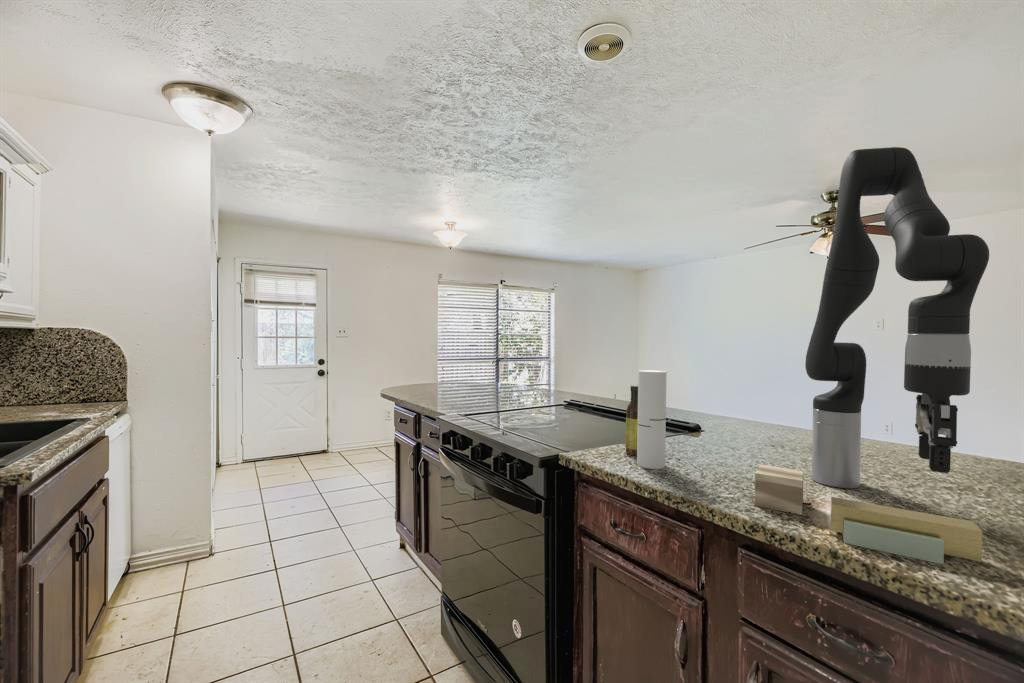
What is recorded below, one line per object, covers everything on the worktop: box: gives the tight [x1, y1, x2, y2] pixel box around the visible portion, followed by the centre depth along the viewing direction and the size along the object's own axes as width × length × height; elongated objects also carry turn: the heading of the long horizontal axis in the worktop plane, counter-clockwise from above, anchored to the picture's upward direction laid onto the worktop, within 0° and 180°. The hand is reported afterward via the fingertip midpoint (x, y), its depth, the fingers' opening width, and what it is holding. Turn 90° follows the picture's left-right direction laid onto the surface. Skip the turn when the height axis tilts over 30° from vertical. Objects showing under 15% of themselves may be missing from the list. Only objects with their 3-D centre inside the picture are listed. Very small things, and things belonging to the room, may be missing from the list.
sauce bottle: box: [624, 385, 638, 457], centre depth 129 cm, size 7×6×20 cm
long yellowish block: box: [830, 496, 983, 562], centre depth 72 cm, size 4×18×4 cm, turn 56°
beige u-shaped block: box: [754, 463, 804, 516], centre depth 90 cm, size 8×8×7 cm
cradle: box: [842, 520, 945, 565], centre depth 73 cm, size 8×12×4 cm, turn 55°
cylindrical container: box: [636, 369, 668, 470], centre depth 118 cm, size 7×7×25 cm
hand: (933, 464), depth 70 cm, fingers open, 8 cm apart
